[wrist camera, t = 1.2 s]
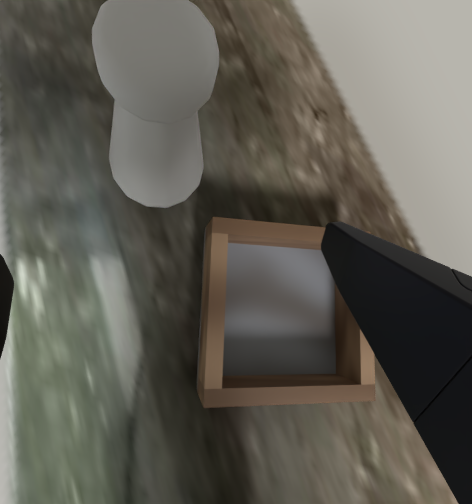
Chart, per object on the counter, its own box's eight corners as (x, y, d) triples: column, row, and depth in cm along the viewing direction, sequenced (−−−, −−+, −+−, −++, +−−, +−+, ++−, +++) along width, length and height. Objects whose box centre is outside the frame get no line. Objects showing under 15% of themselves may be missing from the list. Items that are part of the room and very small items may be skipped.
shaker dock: (343, 385, 24) (375, 400, 20) (196, 389, 21) (203, 407, 18) (341, 240, 25) (370, 231, 22) (204, 228, 23) (212, 216, 19)
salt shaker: (98, 190, 21) (14, 41, 9) (140, 123, 23) (117, -88, 10) (176, 230, 22) (199, 146, 10) (212, 164, 24) (272, 15, 11)
